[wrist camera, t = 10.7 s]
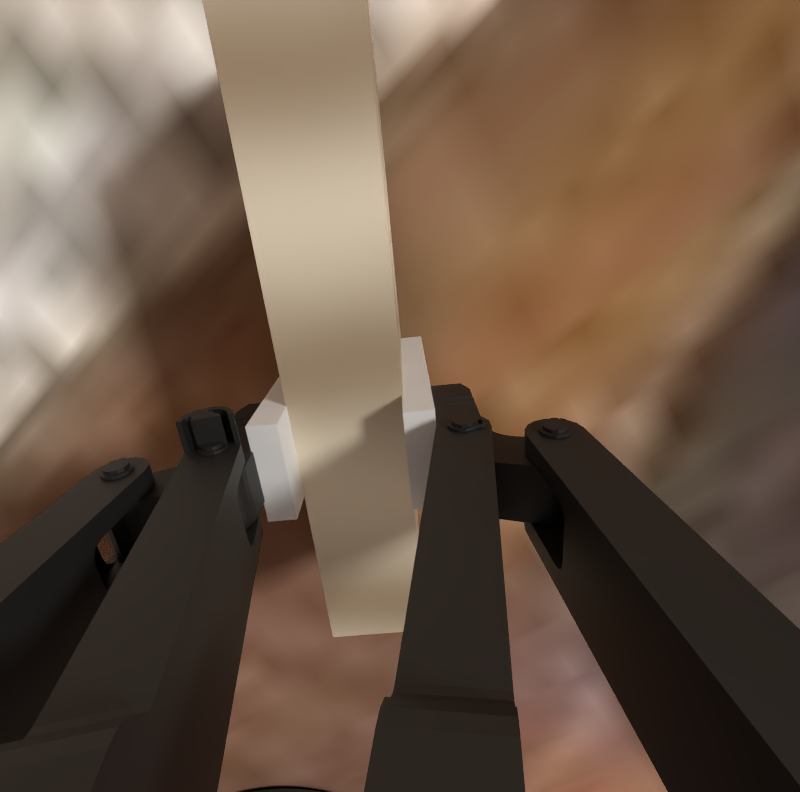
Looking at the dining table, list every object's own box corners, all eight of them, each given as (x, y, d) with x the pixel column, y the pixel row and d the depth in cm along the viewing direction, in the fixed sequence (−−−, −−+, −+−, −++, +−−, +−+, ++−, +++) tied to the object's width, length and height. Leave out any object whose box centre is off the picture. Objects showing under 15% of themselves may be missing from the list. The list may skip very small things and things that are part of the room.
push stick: (417, 513, 21) (426, 630, 15) (349, 519, 21) (333, 637, 15) (369, 2, 14) (352, -133, 8) (266, 13, 14) (179, -112, 8)
